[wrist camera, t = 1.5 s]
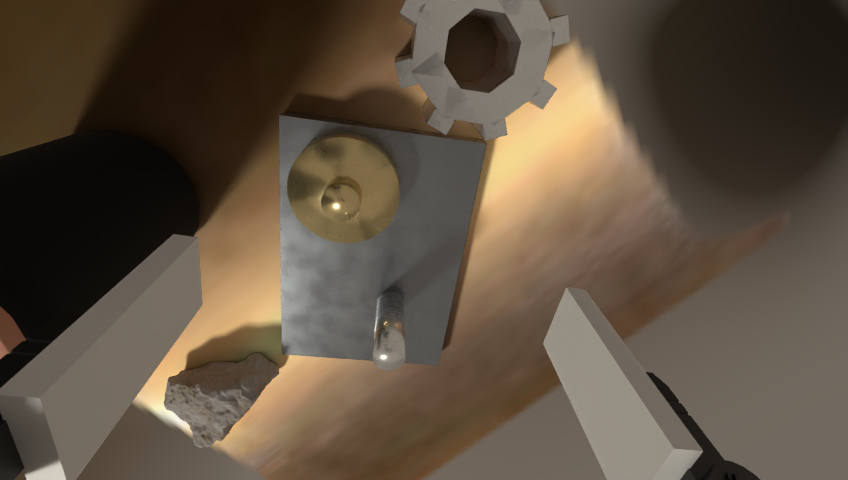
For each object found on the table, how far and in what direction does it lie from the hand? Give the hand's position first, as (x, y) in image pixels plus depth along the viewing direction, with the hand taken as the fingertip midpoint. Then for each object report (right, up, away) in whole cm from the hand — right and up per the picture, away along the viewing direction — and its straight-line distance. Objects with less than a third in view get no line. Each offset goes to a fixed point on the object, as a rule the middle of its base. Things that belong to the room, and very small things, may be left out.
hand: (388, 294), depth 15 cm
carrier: (-3, +1, +21) cm, 21 cm away
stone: (-18, -12, +26) cm, 34 cm away
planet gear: (+4, +15, +14) cm, 21 cm away
